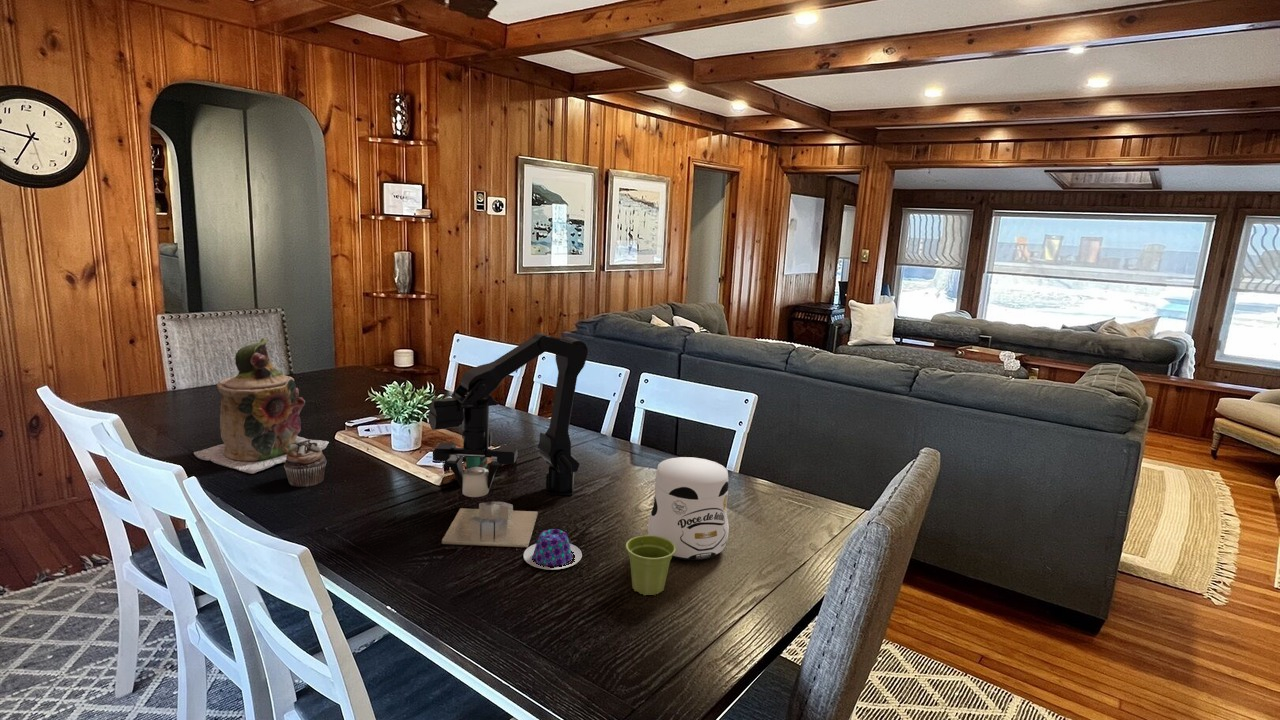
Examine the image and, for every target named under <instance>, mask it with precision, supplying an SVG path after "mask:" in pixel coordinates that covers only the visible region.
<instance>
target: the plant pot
mask: <svg viewBox="0 0 1280 720" xmlns="http://www.w3.org/2000/svg"><path fill="white" fill-rule="evenodd" d="M625 549H626V551H627V554H628V557H629V563H630V564H629V565H630V573H631V576H630V577H631V587H632V589H634V590H633V591H634V592H638V593H639V594H640V595H641V594H643V595H642V596H646V595H654V594H657V595H659V594H660V593H663V592H662V591H664V590H665V586H666V581H667V576H668V572H669V567H670V563H671V560H672V558H673V557H672V555H673V554H674V553H675V550H676V548H675V545H674V544H673V543H672V542H671V541H669V540H667V539H665V538H662V537H658V536H650V535H649V534H648V535H638V536H634V537H632V538H630V539H629V540H627V542H626V543H625ZM654 596H655V595H654Z"/></svg>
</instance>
